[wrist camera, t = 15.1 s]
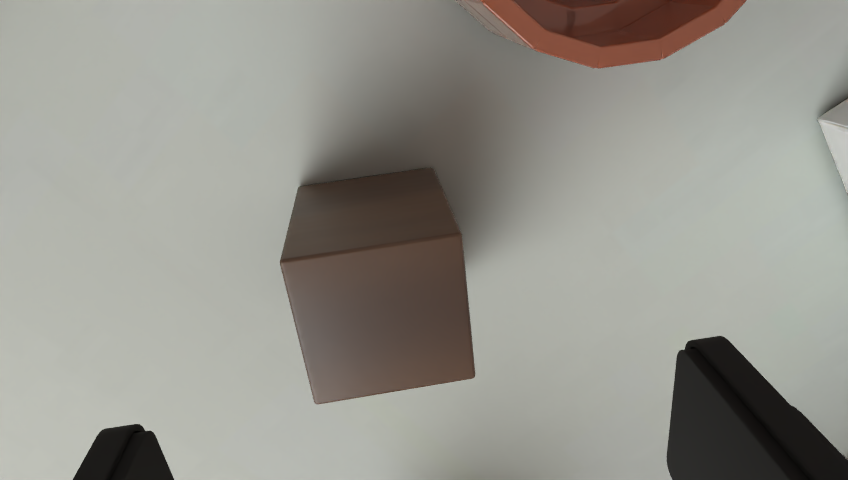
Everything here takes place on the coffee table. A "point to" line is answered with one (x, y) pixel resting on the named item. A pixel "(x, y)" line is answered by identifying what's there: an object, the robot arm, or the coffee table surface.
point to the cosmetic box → (837, 137)
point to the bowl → (603, 26)
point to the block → (378, 285)
